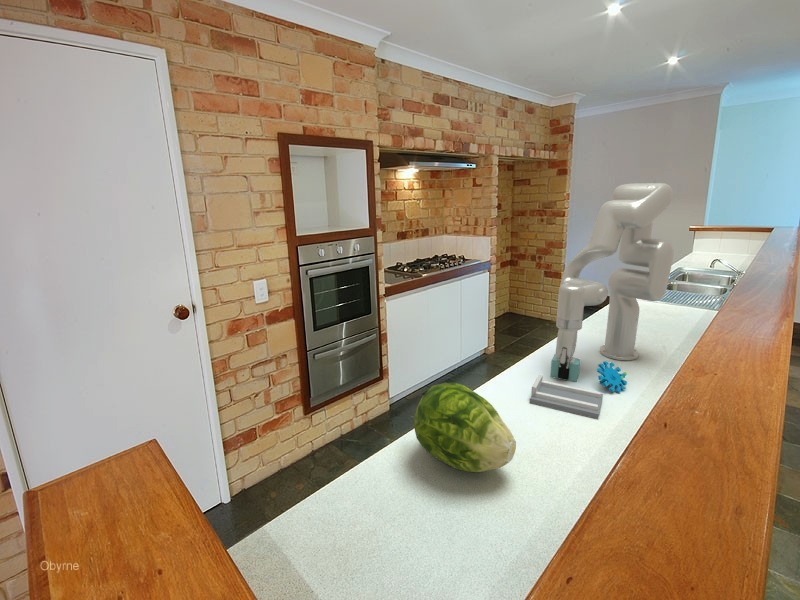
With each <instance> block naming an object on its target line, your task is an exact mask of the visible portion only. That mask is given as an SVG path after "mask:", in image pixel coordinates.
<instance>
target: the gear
mask: <svg viewBox="0 0 800 600" xmlns="http://www.w3.org/2000/svg"><path fill="white" fill-rule="evenodd" d="M615 366H616V364H615V362H612V361H611V362H609V361H607V360H604V361H603V362H601V363H599V364H598V367H599V368H597V369H596V373H598V374H600V375H598V376H597V378H598V380H599V382H598V383H599V384H601V385H602V386H603V387H604V388H606V387H608V386H609V385H610V387H609V388H608V390H609V392H611V393H613V392H615V393H617V394H619V393H621V392H622V391H624V390H626V389H627V388H626V385H627V384H628V382H627V380H625V379H624V378H626V376H628V373H627V372H626V371H625V372H623V373H620V372H621V371H622V368H621V367H620V366H617V367H615ZM613 367H615V368H613Z"/></svg>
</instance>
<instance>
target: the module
mask: <svg viewBox="0 0 800 600" xmlns="http://www.w3.org/2000/svg"><path fill="white" fill-rule="evenodd" d="M566 358H568V357H566ZM559 362H560V356H559V358H556V357H555V354H554V355H553V357H552V359H551V364H550V374H549V375H550V378H553V377H555V378H554V379H558V369H559ZM565 362H566V363H567V361H566V360H565ZM569 368H570V369H569V379H568V380H570V382H573V381H575V383H577V382H578V380H579V377H580V368H581V358H576V357H572V359H571V360H570V361H569ZM559 380H562V379H561V378H560V379H559ZM568 380H566V379H565V381H568Z"/></svg>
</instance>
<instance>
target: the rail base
mask: <svg viewBox="0 0 800 600" xmlns="http://www.w3.org/2000/svg"><path fill="white" fill-rule="evenodd" d="M543 379H544V378H543V374H537V377H536V379H535V380H534V382H533V383H532V385H531V394H530V398H529V404H533V405H537V406H541V407H545V408H550V409H554V410H558V411H563V412H566V413H571V414H574V415H580V416H583V417H588V418H592V419H594V420H595V419H596V420H599V416H600V412H601V408H602V403H603V397H604V394H603V393H602V392H600V391H595V390H591V389H585V388H580V387H576V386H571V385H566V384H562V383H557V382H552V381H551V382H550V381H547V380H543Z"/></svg>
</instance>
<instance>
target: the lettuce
mask: <svg viewBox="0 0 800 600" xmlns="http://www.w3.org/2000/svg"><path fill="white" fill-rule="evenodd" d="M413 428H414V434H415V438H416V440H417V441H418V442H419V444H420V445H421V447H422V448H423V449H424V450H425V451H426V452H427V454H430V455H431V456H432V457H434V458H435V459H437V460H439V461H441V462H442V463H445V464H446V465H448V466H449V467H451V468H454V469H456V470H459V471H464V472H470V473H471V472H472V473H483V472H487V471H490V470H497V469H501V468H503V467H504V466H506V465H508V464H509V463H510V462H512V460H513V458H514V456H515V453H516V449H517V442H516V440H515V438H514V435H513V434H512V432H511V430H510V429H509V427H508V426H507V425H506V424H505V422H504V421H503V419H502V417H501V416H500V414H499V412H498V411H497V409H495V407H494V406H493V405H492V404H491V403H490V402H489V401H488V400H487V399H485V398H484V397H483V396H481V395H479V394H478V393H477V392H475V391H474V390H472V389H471V388H469V387H468V386H466V385H463V384H461V383H456V382H443V383H437V384H435V385H431V387H430V388H429V389H428V390H427V391H426V392H425V394H424V395H422V397H421V399H420V401H419V403H418V405H417V407H416V410H415V413H414V418H413Z"/></svg>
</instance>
